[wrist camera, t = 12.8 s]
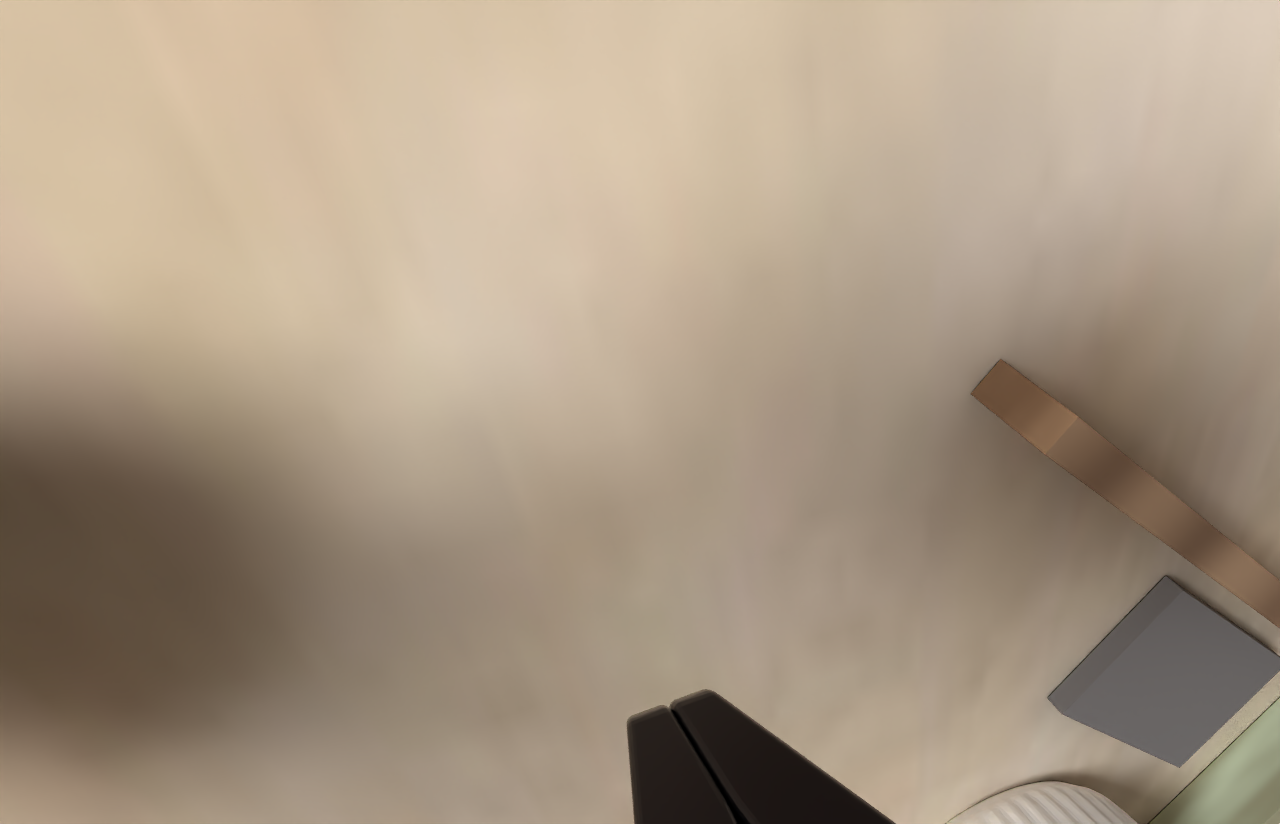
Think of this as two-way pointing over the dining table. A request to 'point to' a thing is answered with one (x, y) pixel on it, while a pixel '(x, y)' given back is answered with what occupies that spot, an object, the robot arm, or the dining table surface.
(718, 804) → the robot arm
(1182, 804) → the wooden u-shaped frame
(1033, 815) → the ramekin
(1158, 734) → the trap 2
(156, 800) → the dining table surface
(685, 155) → the dining table surface
